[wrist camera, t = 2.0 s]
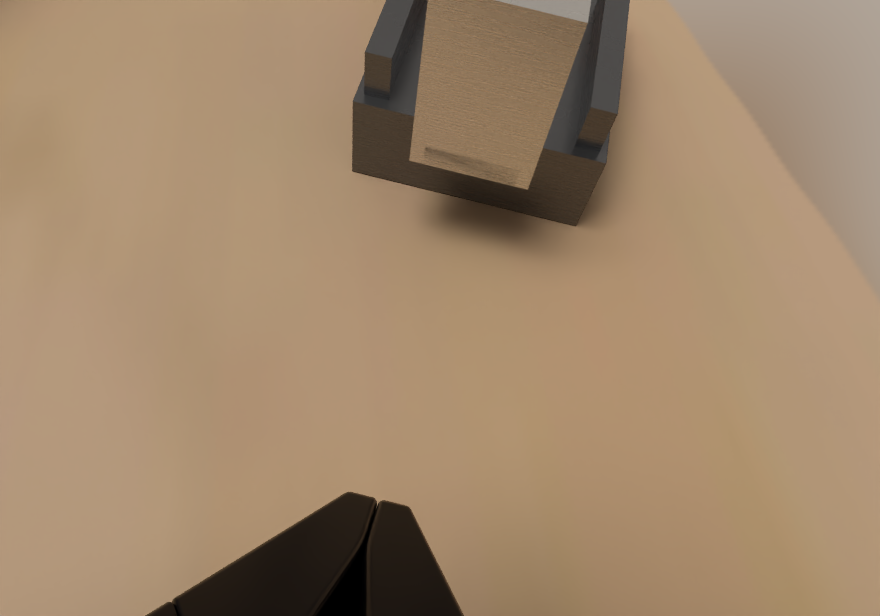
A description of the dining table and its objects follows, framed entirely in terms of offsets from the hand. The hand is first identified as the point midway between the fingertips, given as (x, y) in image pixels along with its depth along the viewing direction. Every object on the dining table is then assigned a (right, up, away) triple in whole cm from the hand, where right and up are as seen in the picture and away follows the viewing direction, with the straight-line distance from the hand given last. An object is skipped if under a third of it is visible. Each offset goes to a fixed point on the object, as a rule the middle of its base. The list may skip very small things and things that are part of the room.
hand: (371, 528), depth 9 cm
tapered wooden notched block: (+3, +12, +18) cm, 22 cm away
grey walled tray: (+3, +13, +24) cm, 27 cm away
